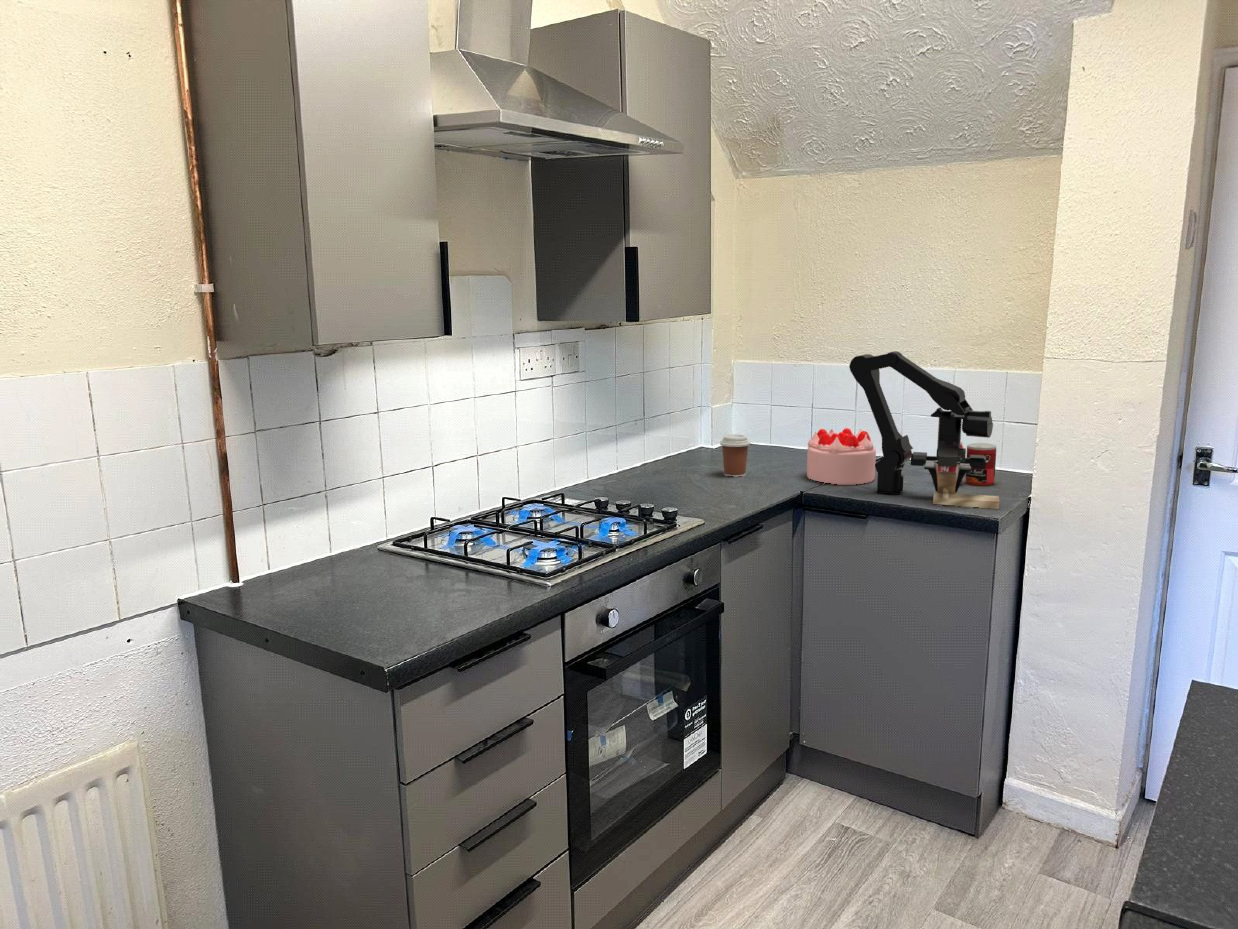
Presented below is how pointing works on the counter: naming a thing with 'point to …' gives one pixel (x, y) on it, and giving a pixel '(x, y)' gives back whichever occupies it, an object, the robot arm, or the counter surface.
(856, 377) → the robot arm
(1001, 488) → the counter surface
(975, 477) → the canned food
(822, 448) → the cake
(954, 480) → the gauge
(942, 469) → the soda can
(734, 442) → the coffee cup
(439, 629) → the counter surface
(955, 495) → the plank
